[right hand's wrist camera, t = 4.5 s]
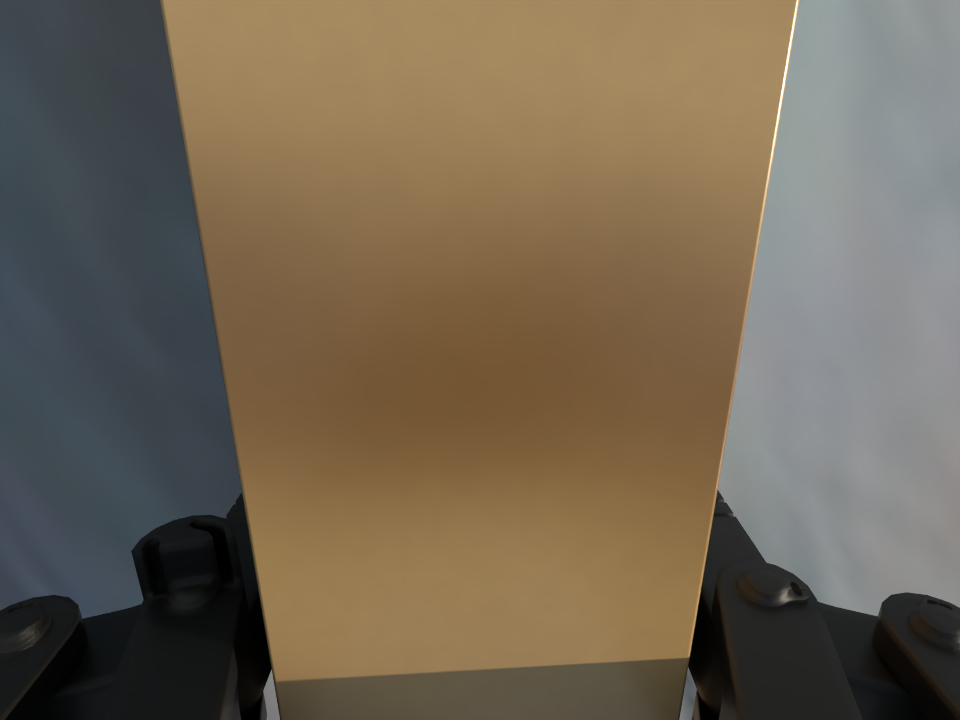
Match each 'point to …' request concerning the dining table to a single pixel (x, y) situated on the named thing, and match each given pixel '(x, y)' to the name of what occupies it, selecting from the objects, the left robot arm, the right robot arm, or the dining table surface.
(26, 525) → the dining table surface
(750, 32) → the post
